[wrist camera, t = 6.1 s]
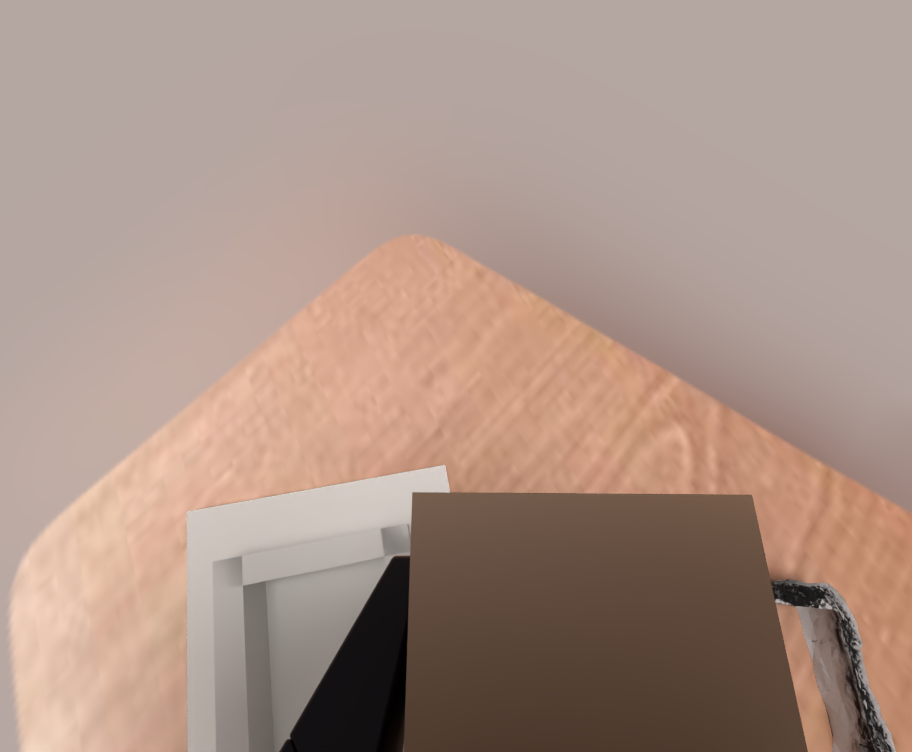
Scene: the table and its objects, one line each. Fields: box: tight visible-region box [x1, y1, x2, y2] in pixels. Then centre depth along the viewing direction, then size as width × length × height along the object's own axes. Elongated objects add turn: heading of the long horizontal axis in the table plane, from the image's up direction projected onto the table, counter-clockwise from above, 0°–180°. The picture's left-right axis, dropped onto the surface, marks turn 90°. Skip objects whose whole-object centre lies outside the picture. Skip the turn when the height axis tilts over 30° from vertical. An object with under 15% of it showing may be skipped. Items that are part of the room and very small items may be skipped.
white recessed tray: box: [187, 465, 450, 752], centre depth 17 cm, size 13×11×4 cm
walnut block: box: [404, 492, 808, 752], centre depth 9 cm, size 4×3×12 cm, turn 0°
